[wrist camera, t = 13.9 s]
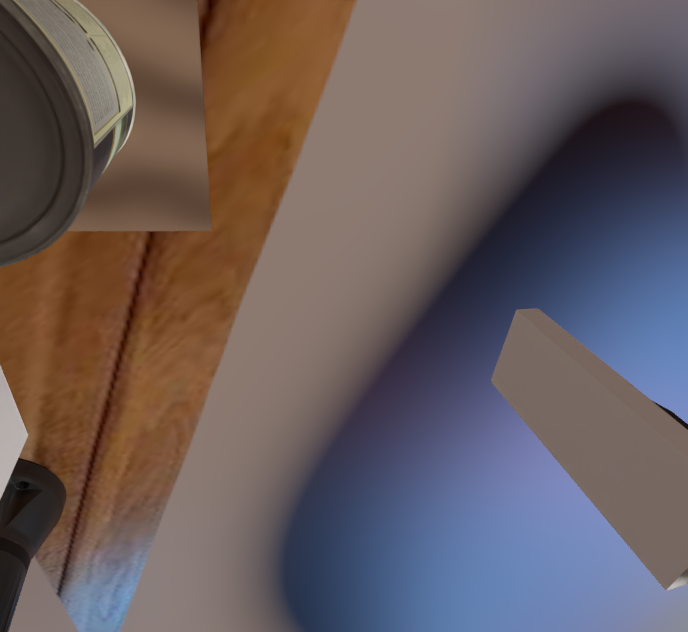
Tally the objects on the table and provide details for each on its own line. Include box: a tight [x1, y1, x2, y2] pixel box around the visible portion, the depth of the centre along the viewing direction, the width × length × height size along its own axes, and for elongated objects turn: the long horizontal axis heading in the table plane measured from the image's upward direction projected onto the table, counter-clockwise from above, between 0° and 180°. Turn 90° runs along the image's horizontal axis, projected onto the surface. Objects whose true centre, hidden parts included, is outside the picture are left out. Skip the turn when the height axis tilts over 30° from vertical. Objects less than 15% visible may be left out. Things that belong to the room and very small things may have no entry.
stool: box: [67, 0, 211, 231], centre depth 29 cm, size 18×18×12 cm
